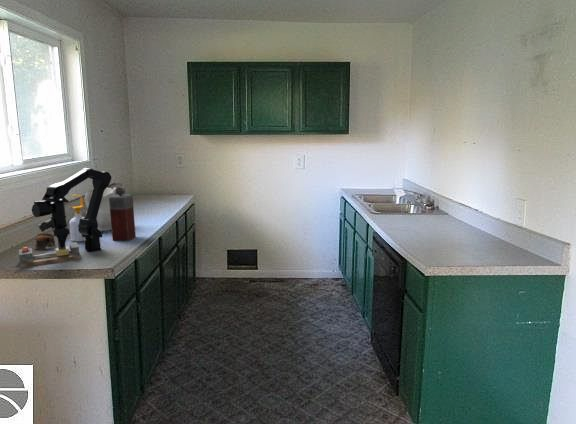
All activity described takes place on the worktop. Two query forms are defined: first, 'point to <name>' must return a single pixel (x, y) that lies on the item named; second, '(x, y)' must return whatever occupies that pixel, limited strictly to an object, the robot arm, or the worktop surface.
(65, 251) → the carriage
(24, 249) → the orange ball
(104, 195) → the ceramic pitcher
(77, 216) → the soap bottle
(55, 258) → the rail board
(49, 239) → the pottery mug
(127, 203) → the brown syrup bottle
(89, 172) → the robot arm
